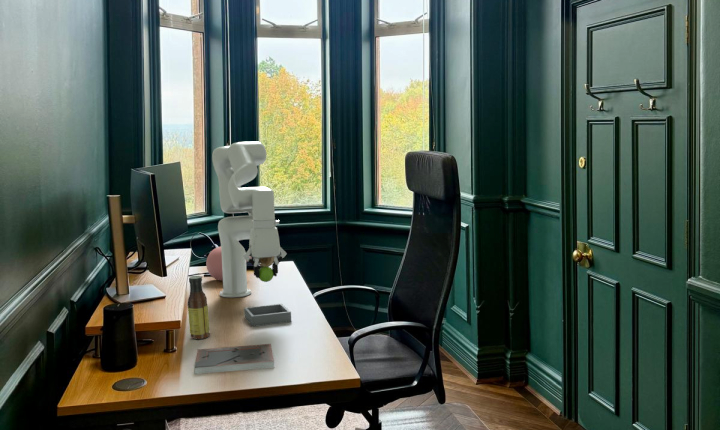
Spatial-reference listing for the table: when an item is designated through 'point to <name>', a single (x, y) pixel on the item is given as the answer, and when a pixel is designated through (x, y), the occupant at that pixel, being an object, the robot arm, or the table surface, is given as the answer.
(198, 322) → the sauce bottle
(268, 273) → the snail figurine
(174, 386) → the table surface
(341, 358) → the table surface
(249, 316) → the bin
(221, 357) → the picture frame
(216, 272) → the balloon
